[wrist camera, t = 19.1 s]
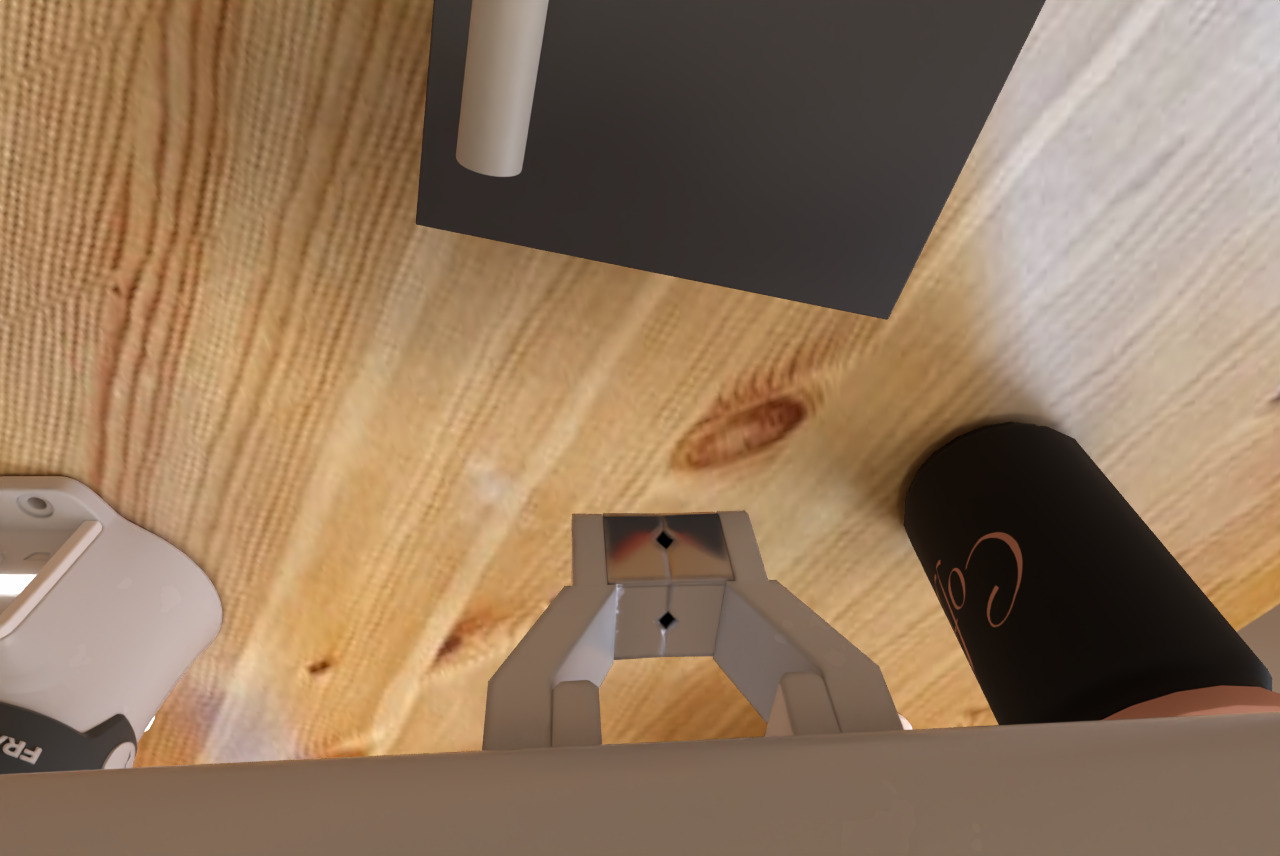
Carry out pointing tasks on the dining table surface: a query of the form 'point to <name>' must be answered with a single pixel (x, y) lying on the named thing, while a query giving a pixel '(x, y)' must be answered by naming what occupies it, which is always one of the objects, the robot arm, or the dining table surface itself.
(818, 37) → the lid
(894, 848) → the robot arm
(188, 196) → the dining table surface
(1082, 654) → the coffee jar
